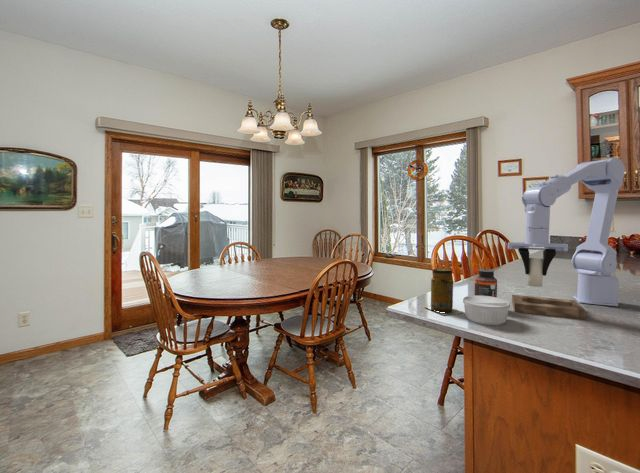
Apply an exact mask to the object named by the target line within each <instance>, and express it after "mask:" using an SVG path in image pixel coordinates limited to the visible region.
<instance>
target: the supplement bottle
mask: <svg viewBox="0 0 640 473" xmlns="http://www.w3.org/2000/svg"><path fill="white" fill-rule="evenodd" d="M476 295H478V296H491V297H497V298H498V279H497V278H496V277H495V272H494V270H492V269H486V268H485V269H484V268H483V269H482V268H481V269H478V276H475V278H474V296H476Z"/></svg>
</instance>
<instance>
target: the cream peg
mask: <svg viewBox="0 0 640 473" xmlns="http://www.w3.org/2000/svg"><path fill="white" fill-rule="evenodd" d="M543 278H544V276H543V257H541V258H540V257H529V275H528V274H527V286H530V287H537V288H540V287H543Z"/></svg>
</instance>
